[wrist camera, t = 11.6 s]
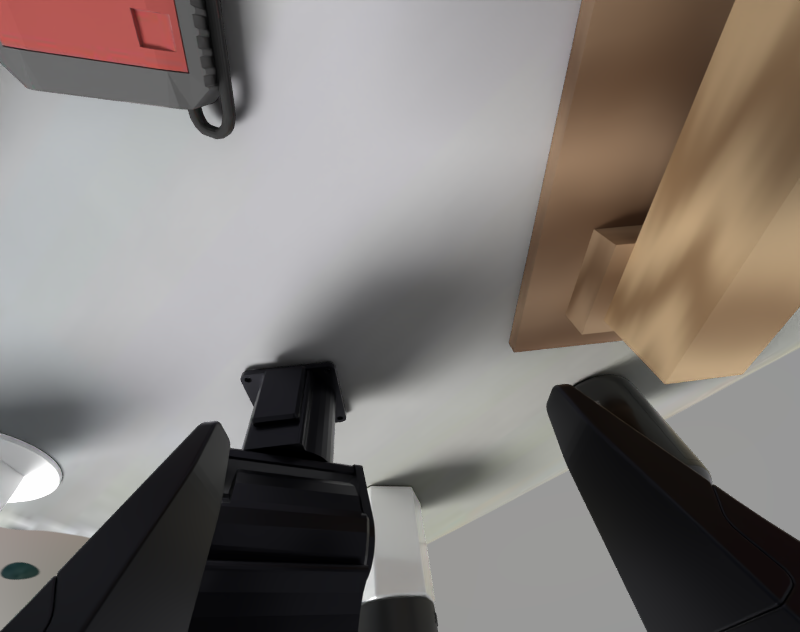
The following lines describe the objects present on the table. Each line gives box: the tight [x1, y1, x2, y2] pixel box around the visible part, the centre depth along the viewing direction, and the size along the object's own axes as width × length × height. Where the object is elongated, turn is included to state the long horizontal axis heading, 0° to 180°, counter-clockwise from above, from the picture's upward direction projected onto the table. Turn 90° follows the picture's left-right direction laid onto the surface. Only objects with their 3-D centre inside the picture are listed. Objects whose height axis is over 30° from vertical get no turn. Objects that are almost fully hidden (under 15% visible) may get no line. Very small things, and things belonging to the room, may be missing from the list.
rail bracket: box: [509, 0, 735, 352], centre depth 13 cm, size 30×12×6 cm, turn 3°
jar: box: [358, 486, 438, 632], centre depth 33 cm, size 9×8×12 cm
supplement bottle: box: [574, 375, 712, 484], centre depth 25 cm, size 7×7×12 cm
